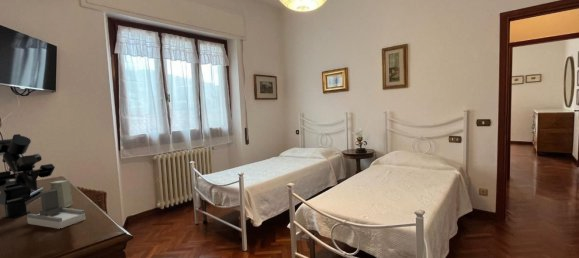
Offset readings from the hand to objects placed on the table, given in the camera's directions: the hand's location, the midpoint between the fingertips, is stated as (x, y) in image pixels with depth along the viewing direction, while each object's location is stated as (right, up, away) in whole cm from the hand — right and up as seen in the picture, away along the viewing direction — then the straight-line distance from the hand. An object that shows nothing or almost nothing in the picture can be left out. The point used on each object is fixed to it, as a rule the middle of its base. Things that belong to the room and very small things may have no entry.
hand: (35, 189), depth 112 cm
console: (+12, -12, -3) cm, 17 cm away
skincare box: (-1, -12, +15) cm, 19 cm away
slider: (+9, -9, -3) cm, 13 cm away
